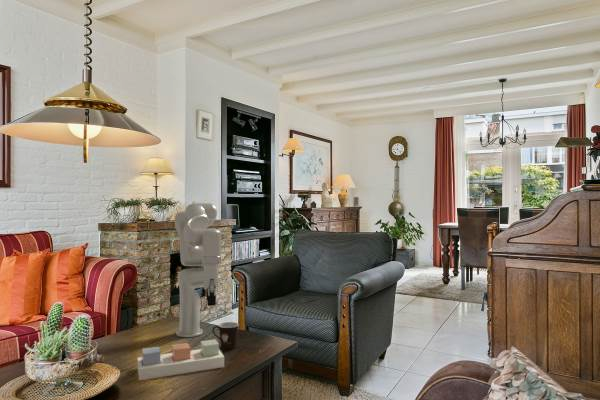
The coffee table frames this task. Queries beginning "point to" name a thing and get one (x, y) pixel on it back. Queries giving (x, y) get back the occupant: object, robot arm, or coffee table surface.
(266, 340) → the coffee table surface
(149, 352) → the slate button
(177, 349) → the terracotta button
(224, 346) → the coffee mug
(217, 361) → the button panel
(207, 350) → the sage button
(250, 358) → the coffee table surface
